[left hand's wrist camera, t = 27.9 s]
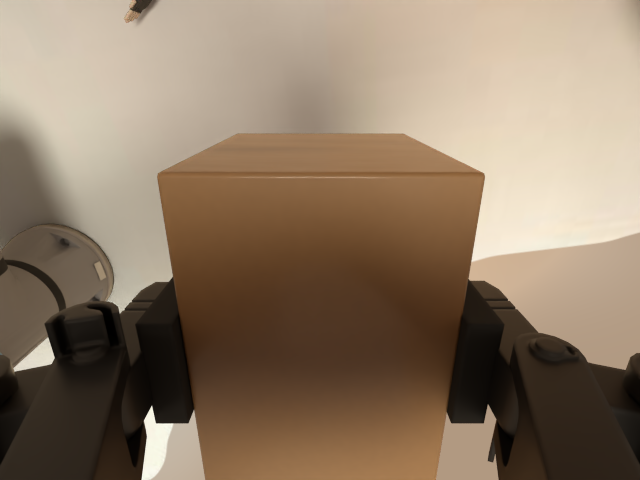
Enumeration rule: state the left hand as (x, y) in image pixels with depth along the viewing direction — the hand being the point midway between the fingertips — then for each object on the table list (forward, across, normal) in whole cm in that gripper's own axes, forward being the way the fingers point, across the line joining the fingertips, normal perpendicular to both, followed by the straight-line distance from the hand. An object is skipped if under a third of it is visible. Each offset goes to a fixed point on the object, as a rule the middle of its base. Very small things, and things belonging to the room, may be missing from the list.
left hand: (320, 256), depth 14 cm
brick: (+1, 0, 0) cm, 1 cm away
